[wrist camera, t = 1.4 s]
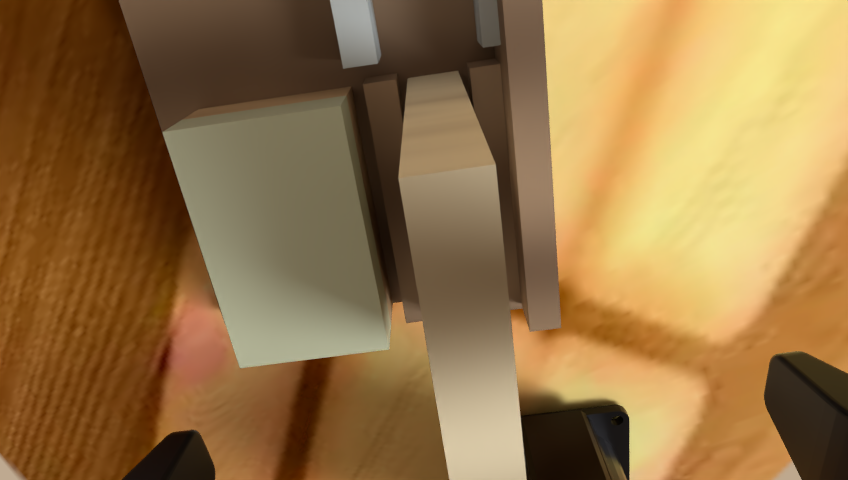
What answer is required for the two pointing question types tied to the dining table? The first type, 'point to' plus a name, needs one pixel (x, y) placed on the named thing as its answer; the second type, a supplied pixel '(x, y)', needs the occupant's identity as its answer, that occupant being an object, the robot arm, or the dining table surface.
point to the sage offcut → (284, 230)
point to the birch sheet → (461, 278)
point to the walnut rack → (379, 99)
